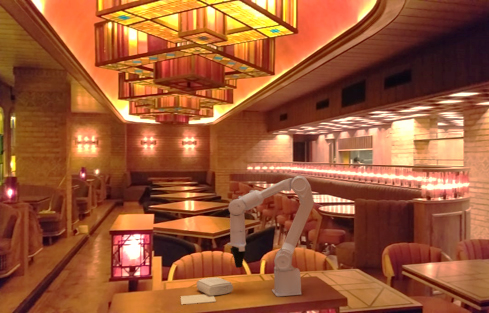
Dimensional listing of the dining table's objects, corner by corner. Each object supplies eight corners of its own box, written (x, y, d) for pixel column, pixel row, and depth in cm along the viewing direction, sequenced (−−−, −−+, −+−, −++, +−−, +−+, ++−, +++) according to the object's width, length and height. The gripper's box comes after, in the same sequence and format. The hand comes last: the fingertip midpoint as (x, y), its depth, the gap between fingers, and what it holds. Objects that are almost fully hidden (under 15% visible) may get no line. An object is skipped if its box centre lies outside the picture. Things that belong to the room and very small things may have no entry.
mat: (213, 294, 153) (212, 293, 153) (215, 301, 145) (215, 301, 145) (180, 297, 151) (180, 296, 151) (181, 304, 142) (181, 304, 142)
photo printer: (233, 293, 155) (217, 286, 165) (233, 281, 155) (217, 275, 165) (209, 297, 149) (194, 289, 159) (209, 285, 149) (194, 278, 160)
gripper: (224, 229, 162) (225, 263, 162) (230, 234, 148) (231, 272, 148) (241, 228, 164) (242, 262, 163) (249, 233, 150) (250, 270, 149)
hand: (238, 267), depth 156 cm, fingers closed
